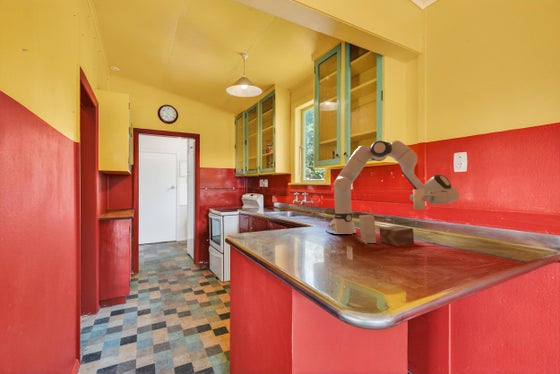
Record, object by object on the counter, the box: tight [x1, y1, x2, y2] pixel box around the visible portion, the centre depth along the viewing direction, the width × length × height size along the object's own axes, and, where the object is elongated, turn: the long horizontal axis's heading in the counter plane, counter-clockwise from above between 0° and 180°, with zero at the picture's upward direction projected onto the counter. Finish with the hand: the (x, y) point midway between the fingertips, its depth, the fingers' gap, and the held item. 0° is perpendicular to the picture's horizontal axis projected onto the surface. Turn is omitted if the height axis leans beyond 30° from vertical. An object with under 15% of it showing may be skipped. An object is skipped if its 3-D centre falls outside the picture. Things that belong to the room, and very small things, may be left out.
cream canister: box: [412, 188, 426, 211], centre depth 141 cm, size 6×6×11 cm
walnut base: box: [379, 225, 415, 247], centre depth 140 cm, size 12×12×8 cm
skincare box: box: [358, 214, 377, 244], centre depth 143 cm, size 8×7×16 cm
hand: (417, 198), depth 141 cm, fingers closed on cream canister, 5 cm apart
